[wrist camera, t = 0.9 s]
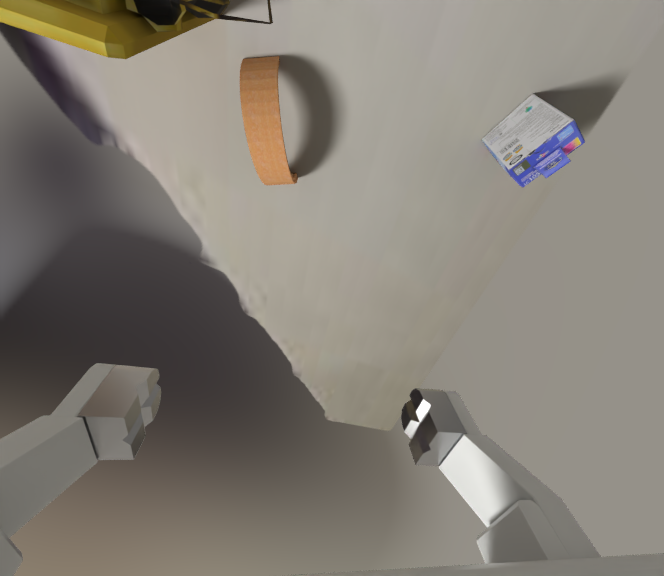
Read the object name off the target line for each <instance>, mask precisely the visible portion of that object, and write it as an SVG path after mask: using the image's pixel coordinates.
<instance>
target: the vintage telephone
mask: <svg viewBox="0 0 664 576" xmlns="http://www.w3.org/2000/svg"><path fill="white" fill-rule="evenodd" d="M229 3H230V1H229V0H0V22H3V23H6V24H9V25H12V26H15V27H18V28H21V29H24V30H27V31H30V32H33V33H36V34H39V35H42V36H45V37H48V38H51V39H54V40H57V41H60V42H63V43H66V44H69V45H72V46H75V47H78V48H81V49H85V50H88V51H91V52H94V53H97V54H100V55H103V56H106V57H111V58H121V59H127V58H129V57H131V56H134V55H136V54H138V53H140V52H142V51H145V50H147V49H149V48H151V47H154V46H156V45H158V44H160V43H162V42H165V41H167V40H169V39H171V38H174V37H176V36H178V35H180V34H182V33H185V32H187V31H189V30H191V29H194V28H196V27H198V26H200V25H202V24H205V23H207V22H209V21H211V20H214V19H225V20H235V21H244V22H254V23H264V24H271V23H273V22H272V14H271V6H270V0H268V10H269V20H270V23H269V22H263V21H257V20H251V19H245V18H239V17H232V16H226V15H222V12H223V11H224V10H225V8H226V7H227V6H228V4H229Z"/></svg>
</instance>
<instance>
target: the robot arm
mask: <svg viewBox="0 0 664 576" xmlns="http://www.w3.org/2000/svg"><path fill="white" fill-rule="evenodd" d="M158 379H159V373H158V370H157V369H153V368H142V367H133V366H123V365H110V364H100V363H97V364H95V365H94V366H92V367H91V368H90V369H89V370H88V371H87V372H86V374H85V375H84V376H83V377H82V379H81V380H80V381H79V382H78V383H77V384H76V386H75V387H74V388H73V389H72V390H71V391H70V393H69V394H68V395H67V396H66V397H65V399H64V400H63V401H62V402H61V403H60V405H59V406H58V407H57V408H56V409H55V410H54V412H53V413H52V414H51V415H50V416H42V417H40V418H38V419H36V420H34V421H33V422H31V423H29V424H27V425H25V426H24V427H22V428H20V429H18V430H16V431H14V432H13V433H11V434H9V435H7V436H6V437H4V438H2V439H0V576H13V575H14V574H15V572H16V570H17V569H18V567H19V566H20V564H21V562H22V561H23V557H22V553H21V551H20V550H19V549H18V548H17V547H16V546H15V544H14V543H13V542H12V541H11V540H10V539H9V538H10V537H11V536H12V535H13V534H14V533H16V532H17V531H18V530H19V529H20V528H21V527H23V526H24V525H25V524H26V523H27V522H28V521H30V520H31V519H32V518H33V517H34V516H35V515H37V514H38V513H39V512H40V511H41V510H42V509H43V508H45V507H46V506H47V505H48V504H49V503H50V502H52V501H53V500H54V499H55V498H56V497H57V496H59V495H60V494H61V493H62V492H63V491H64V490H65V489H67V488H68V487H69V486H70V485H71V484H73V483H74V482H75V481H76V480H77V479H78V478H79V477H81V476H82V475H83V474H84V473H85V472H86V471H87V470H89V469H90V468H91V467H92V466H93V465H95V464H96V463H97V460H130V459H131V460H134V458H135V456H136V454H137V452H138V450H139V448H140V446H141V444H142V442H143V440H144V438H145V436H146V435H145V429H144V427H145V426H146V425H148V424H149V423H150V422H152V421H153V419H154V417H155V415H156V412H157V410H158V407H159V404H160V399H161V388H160V387H159V386H158V385H157V384H156V382H157V381H158ZM410 398H411V400H410V401H408V402H407V403H405V404H404V407H403V409H402V414H401V420H402V425H403V429H404V432H405V433H406V434H407V435H408V436H409V437H410V438H411V439H410V442H409V447H410V450H411V453H412V456H413V459H414V462H415V465H426V466H440V467H439V469H440V470H441V471H442V472H443V473H444V475H445V476H446V477H447V478H448V480H449V481H450V482H451V483H452V484H453V485H454V487H455V488H456V489H457V491H458V492H459V493H460V494H461V495H462V497H463V498H464V499H465V501H466V502H467V503H468V504H469V505H470V507H471V508H472V509H473V510H474V512H475V513H476V514H477V515H478V517H479V518H480V519H481V520H482V522H483V523H484V524H485V525H486V526H487V528H486V529H485V530H484V531H483V532H482V533H481V534H480V535H478V537H477V540H476V542H477V544H478V546H479V549H480V552H481V554H482V556H483V559H484V561H485V564H471V565H455V566H439V567H438V566H437V567H421V568H405V569H387V570H369V571H352V572H337V573H318V574H301V575H284V576H664V553H660V554H659V553H658V554H642V555H625V556H609V557H608V556H607V557H601V556H600V555H599V553H598V552H597V550H596V549H595V547H594V546H593V544H592V543H591V542H590V540H589V539H588V537H587V536H586V534H585V533H584V531H583V530H582V528H581V527H580V525H579V524H578V522H577V521H576V520H575V518H574V516H573V515H572V514H571V512H570V511H569V509H568V508H567V506H566V505H565V503H564V502H563V500H562V499H561V498H560V497H559V496H557V495H556V494H555V493H554V492H553V491H552V490H551V489H549V488H548V487H547V486H546V485H545V484H543V483H542V482H541V481H540V480H539V479H538V478H536V477H535V476H534V475H533V474H532V473H530V472H529V471H528V470H527V469H526V468H525V467H523V466H522V465H521V464H520V463H518V462H517V461H516V460H515V459H514V458H512V457H511V456H510V455H509V454H508V453H507V452H505V451H504V450H503V449H502V448H501V447H500V446H499V445H497V444H496V443H495V442H494V441H493V440H491V439H490V438H489V437H488V436H487V435H482V433H481V432H480V430H479V428H478V426H477V425H476V423H475V422H474V419H473V418H472V416H471V414H470V413H469V411H468V409H467V408H466V406H465V404H464V402H463V401H462V399H461V397H460V395H459V394H458V393H457V392H456V391H446V390H435V389H420V388H415V389H413V390H412V391H411V393H410Z"/></svg>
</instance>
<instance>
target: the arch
mask: <svg viewBox="0 0 664 576" xmlns="http://www.w3.org/2000/svg"><path fill="white" fill-rule="evenodd" d="M279 63H280V61H279V56H275V57H261V58H248V59H243V61H242V64H241V69H240V96H241V107H242V115H243V121H244V127H245V132H246V137H247V142H248V146H249V150H250V154H251V157H252V160H253V163H254V166H255V169H256V171H257V173H258V176H259V178H260V179H261V181H262V182H263V183H264V184H265V185H280V184H295V183H297V179H298V177H297V174H296V173H295V174H293V173H291V172H290V169H289V165H288V161H287V157H286V152H285V146H284V140H283V134H282V127H281V118H280V108H279V95H278V68H279Z"/></svg>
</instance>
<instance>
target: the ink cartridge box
mask: <svg viewBox="0 0 664 576" xmlns="http://www.w3.org/2000/svg"><path fill="white" fill-rule="evenodd" d="M482 141H483V143H484V144H485V145H486V147H487V148H488V150H489V151H490V153H491V154H492V155H493V157H494V158H495V159H496V160H497V161H498V163H499V164H500V165H501V166H502V167H503V168H504V169H505V171H506V172H507V173H508V174H509V175H510V176H511V177H512V178H513V179H514V180H515V181H516V182H517V183H518V184H519V185H520V186H521V187H524V186H526V185H527V184H529V183H530V182H531V181H533V180H534V179H535V178H537V177H538V176H539V175H541V174H542V175H543V176H544V177H545V178H547V177H549V176H550V175H552V174H553V173H554V172H556V171H557V170H559V169H560V168H562V167H563V166H565V165H566V164H567V163H569V162H570V159H568V157H567V155H568V154H569V153H571V152H572V151H574V150H575V149H576V148H578V147H579V146H581V145H582V144H583V143H585V141H584V138H583V136H582V134H581V132H580V130H579V128H578V126H577V124H576V122H575V120H574V119H573V118H571V117H569V116H568V115H566V114H565V113H563V112H561V111H560V110H558V109H557V108H555V107H554V106H552V105H550V104H549V103H547V102H546V101H544V100H542V99H541V98H539V97H538V96H536V95H535V94H532V95H531V96H530V97H529V98H528V99H526V100H525V101H524V102H523V103H522V104H521V105H520V106H519V107H517V108H516V109H515V110H514V111H513V112H512V113H511V114H510V115H508V116H507V117H506V118H505V119H504V120H503V121H502V122H501V123H499V124H498V125H497V126H496V127H495V128H494V129H493V130H492V131H490V132H489V133H488V134H487V135H486V136H485V137H484V138H483V139H482ZM561 159H562V160H561ZM560 160H561V161H560ZM558 161H560V162H559V163H558V164H557V165H556V166H555V167H553V168H551V169H549V168H550V167H552V166H553V165H554V164H556V163H557V162H558ZM548 169H549V170H548ZM546 170H547V171H546Z"/></svg>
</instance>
